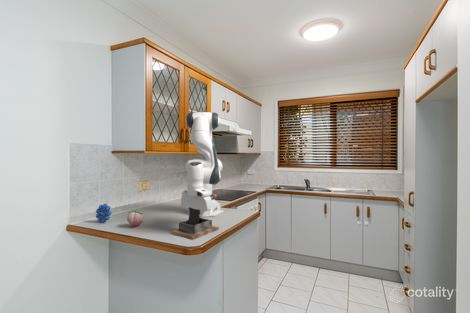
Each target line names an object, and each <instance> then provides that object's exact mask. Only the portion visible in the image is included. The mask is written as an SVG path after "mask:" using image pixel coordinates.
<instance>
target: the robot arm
mask: <svg viewBox="0 0 470 313" xmlns="http://www.w3.org/2000/svg"><path fill="white" fill-rule="evenodd" d="M185 123H186V126H187V127H188V128H189V129H191V133H190V134H191V138H190V139H191V142H192V144H193V145H194V146H195V148H196V151H197V152H198V153H199V154H201V155H202V156H204V157H205V158H194V159H189V160H188V161H186V163H185V170H186V179H187V189H186V190H183V191H182V192H181V200H180V206H181V207H182V208H187V209H186V211H187V213H188V214H189V213H190V207H191V208H192V209H197V210H200V212H201V213H200V215H199V218H203V219H204V217H205V218H206V217H208V218H209V217H217V216H219V215H221V214H222V213H224V211H225V210H223V209H221V204H220V202H218V201H217V200H216V199H215V198H216V197H217V194H214V193H213V185H217V184H219V183H220V182H221V178H222V176H221V173H222V171H223V162H222V161H221V160H220V159H219V158H218V155H217V154H218V153H217V148H216V145H215V144H216V143H215V142H214V141H213V131H214V130H216V129H217V128H218V127H219V125H220V123H221V119H220V115H219V114H218V113H217V112H210V111H209V112H208V111H207V112H206V111H199V112H189V113H188V114H187V115H186V117H185Z"/></svg>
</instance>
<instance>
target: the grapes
mask: <svg viewBox="0 0 470 313" xmlns="http://www.w3.org/2000/svg"><path fill="white" fill-rule="evenodd" d="M95 213H96V214H95V218H96V219H97V222H100V223H101V222H102V223H103V222H105V223H106V222H107V221H109V220H110V219H111V215H112V211H111V206H110V205H108V204H107V203H103V204H100V205H99V206H98V208H96V209H95Z"/></svg>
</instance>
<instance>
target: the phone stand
mask: <svg viewBox="0 0 470 313" xmlns="http://www.w3.org/2000/svg"><path fill="white" fill-rule="evenodd" d="M200 213H201V212H200V210H197V209H192V208H191V207H190V213H188V219H187V220H188V224H190V225H197V224H200V223H203V219H204V217H203V218H199V215H200Z"/></svg>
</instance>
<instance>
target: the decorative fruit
mask: <svg viewBox="0 0 470 313" xmlns="http://www.w3.org/2000/svg"><path fill="white" fill-rule="evenodd" d="M144 219H145V215H144V213H143V212H142V211H141V210H136V209H135V210H132V211H129V212H128V213H127V217H126V220H127V222H128V224H129V225H131V226H132V227H134V228H135V227H137V226H140V225H141V224H142V223H143V222H144Z"/></svg>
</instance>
